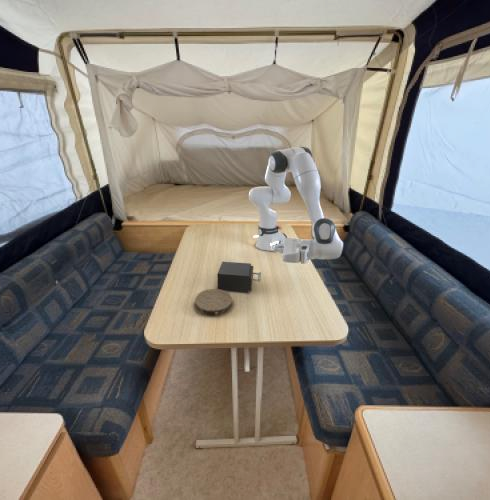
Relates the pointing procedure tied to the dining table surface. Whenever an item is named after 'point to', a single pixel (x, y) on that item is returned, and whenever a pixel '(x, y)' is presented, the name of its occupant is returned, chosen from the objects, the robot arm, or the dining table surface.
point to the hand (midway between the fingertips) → (273, 248)
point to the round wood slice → (213, 302)
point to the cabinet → (234, 276)
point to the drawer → (252, 278)
